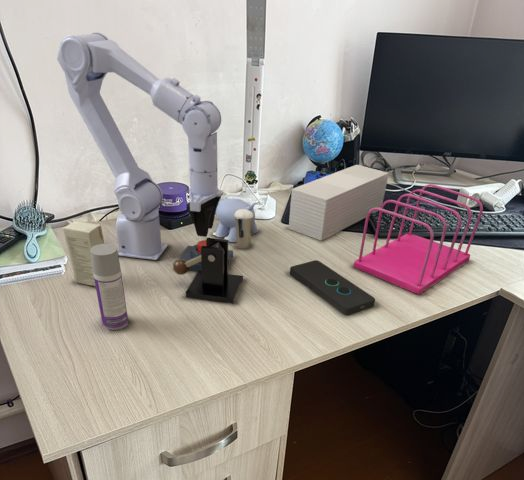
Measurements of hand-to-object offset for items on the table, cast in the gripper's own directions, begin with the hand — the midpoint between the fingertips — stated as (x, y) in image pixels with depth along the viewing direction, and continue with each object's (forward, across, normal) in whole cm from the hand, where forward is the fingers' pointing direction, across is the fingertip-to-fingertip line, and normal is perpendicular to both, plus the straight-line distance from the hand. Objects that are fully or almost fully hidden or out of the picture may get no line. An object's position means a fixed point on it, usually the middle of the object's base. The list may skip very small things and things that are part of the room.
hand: (204, 231), depth 107 cm
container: (+8, -28, +10) cm, 31 cm away
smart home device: (+8, -5, -29) cm, 30 cm away
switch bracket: (+8, -11, -5) cm, 14 cm away
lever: (+3, -11, -2) cm, 12 cm away
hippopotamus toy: (+8, +19, -2) cm, 21 cm away
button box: (+8, 0, 0) cm, 8 cm away
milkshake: (+8, +11, -7) cm, 15 cm away
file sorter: (+8, +12, -48) cm, 50 cm away
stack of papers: (+8, +36, -29) cm, 47 cm away
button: (+5, 0, 0) cm, 5 cm away
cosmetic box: (+8, -14, +21) cm, 26 cm away
